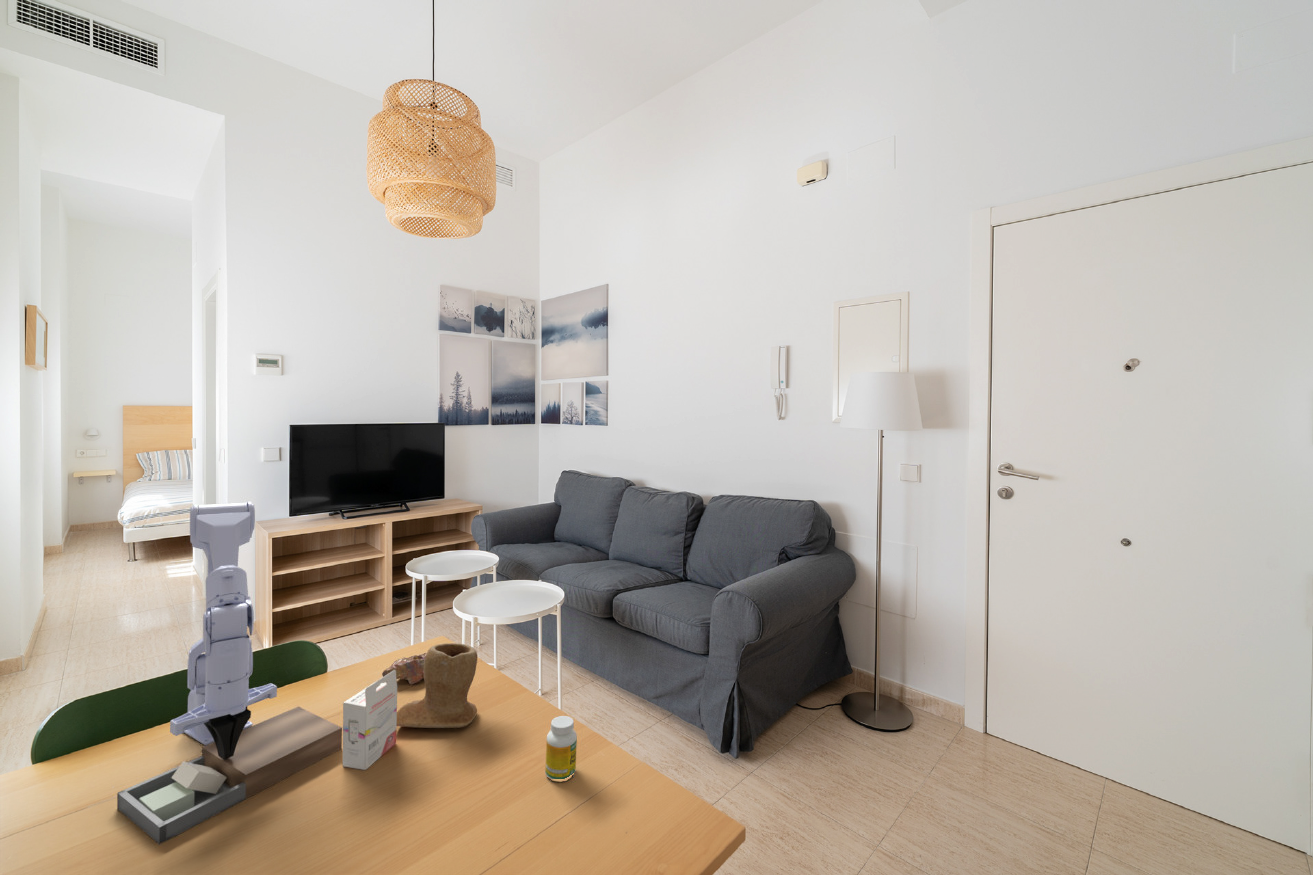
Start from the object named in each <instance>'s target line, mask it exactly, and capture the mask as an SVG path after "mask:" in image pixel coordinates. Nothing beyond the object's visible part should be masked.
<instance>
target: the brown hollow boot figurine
mask: <svg viewBox="0 0 1313 875" xmlns="http://www.w3.org/2000/svg"><path fill="white" fill-rule="evenodd" d="M426 653H427V654H426V656H425V660H424V678H423V681H424V688H425V694H424V695H425V696H424V697H423V699H419V700H413V701H411V702H408V703H407V702H406V704H404V705H403V706H401V707H400V708H399V709H398V710H397V723H396V727H404V728H422V729H423V728H424V729H425V728H427V729H451V728H452V729H457V728H463V727H466V726H468V725H470V724H471V723H472V722H473V721H474V719H475V718H476V716H477V713H478V708H477V706H476V704H474V703H472V702H470V701H468V695H469V691H470V689H471V686H472V683H473V681H474V678H475V675H476V671H477V670H476V669H477V663H478V653H477V650H476V649H475V648H474V647H472V646H471V645H468V644H465V643H450V642H449V643H448V642H447V643H440V644H438V643H437V644H435V645H433V646H432V645H431V647H430V648H429V649H428V650H427V652H426Z"/></svg>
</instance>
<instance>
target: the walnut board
mask: <svg viewBox="0 0 1313 875" xmlns="http://www.w3.org/2000/svg"><path fill="white" fill-rule="evenodd" d="M201 750H202V751H201V756H203V757H204V766H207V767H211V768H212V769H214V770H216V771H217V772H219V773H221V774H222V775H224V776H225V777H227V778H226V779H225V781H224V783H226V784H227V785H229V786H230V787H232V788H233V787H235V786H237V785H239V784H241V783H245V784H246V795H245V800H246V799H249V798H250V797H252V796H254V795H256V794H258V793H260V792H261V791H263V790H265V789H267V788H269V787H271V786H273V785H275V784H277V783H279V782H281V781H283V780H284V779H287V778H288V777H290V776H293V775H294V774H296V773H299V772H300V771H301V770H303V769H306V768H307V767H309V766H311V765H312V764H313V765H314V763H317V762H319V761H321V760H323V759H325V758H326V757H328V756H330V755H332V754H334V753H336V752H338V751H339V750H343V726H340V725H337V724H336V723H333V722H331V721H329V720H327V719H325V718H323V717H321V716H319V715H317V714H315V713H313V712H312V711H311V712H310V711H309V710H307V709H304V708H302V707H300V706H296V707H294V708H291V709H288V710H287V711H285V712H282V713H280V714H278V715H275V716H273V717H270V718H268V719H266V720H263V721H261V722H259V723H256V724H253V725H252V726H251V727H248V728H246V729H244V730H242V732H241V735H240V737H239V740H238V742H237V745H236V748H235V752H234V756H232V757H230V758H228V759H225V760H223V759H222V758H220V757H219V756H218V751H217V747H216V744H215V742H213V743H211V744H208V745H204V746H202V748H201Z"/></svg>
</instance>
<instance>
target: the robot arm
mask: <svg viewBox="0 0 1313 875" xmlns="http://www.w3.org/2000/svg"><path fill="white" fill-rule="evenodd" d="M255 509H256V508H255V504H254V503H252V501H247V502H233V503H231V502H230V503H229V502H228V503H216V504H213V503H212V504H196V503H195V504H192V506H190V507H189V536H190V540H189V541H190V543H191V544H192V545H191V547H192V548H194V549H195V548H196V549H200V550H203V551H204V554H205V556H206V559H207V576H206V578H205V611H203V616H202V638H201V639H199V640H198V641H196V642H195V643H194V644H192V646H190V649H189V650H188V658H187V689H189V690H190V691H189V693H188V696H187V712H186V713H184V714H182V715H180V716H178V717H176V718H173V719H171V720H170V724H169V732H170V733H171V735H173V736H175V737H178V736H180V735H182V734H184V733H185V734H186V735H188V736H190V737H191V738H193V739H195V741H197V742H199V743H201V745H202V744H203V745H204V746H207V745H209V744H211V743H214V742H215V744H216V747H217V751H218V756H219V757H220V758H222V759H223V760H225V759H228V758H230V757H232V756H234V752H235V748H236V745H237V742H238V740H239V737H240V735H241V732H242V730H244V729H247V728H249V727H251V726H254V724H253V723H254V722H252V721H250V719H251V717H252V711H251V710H250V709H248V706H251V705H254V704H256V703H260V702H261V701H264V700H267V699H274V698H277V697H278V694H277V693H278V686H277V685H276V684H273V683H271V682H270V683H268V684H264V685H261V686H258V687H253V688H249V686H250V685H249V684H250V682H249V679H250V676H252V674H253V668H254V654H253V653H254V651H253V648H252V639H251V638H250V636H252V635H253V633H254V625H255V615H254V614H255V613H254V612H255V611H254V606H253V603H252V600H251V596H250V595H249V589H248V576H247V572H246V570H244V569H243V568H242V567H239V553H240V552H239V551H240V547H241V546H243V545H245V544H249V542H250V540H251V538H252V537H253V533H254V530H255V522H256V510H255ZM248 631H249V634H248Z"/></svg>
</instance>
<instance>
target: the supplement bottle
mask: <svg viewBox="0 0 1313 875" xmlns="http://www.w3.org/2000/svg"><path fill="white" fill-rule="evenodd" d="M574 724H575V722H574V718H572V717H570V716H569V715H559V716H556V717H554V718H553V719H552V720H551V721H550V730H549V731H548V733H547V735H546V744H545V745H546V748H545V749H546V750H545V776H546V775H547V776H546V778H547V777H549V778H550V779H565V778H567V777H569V776H570V775H572V774H573V773H574V772H575V773H576V768H577V767H576V765H577V746H578V745H577V744H578V740H577V739H578V735H577V732H576V730H574V728H575V725H574Z"/></svg>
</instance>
